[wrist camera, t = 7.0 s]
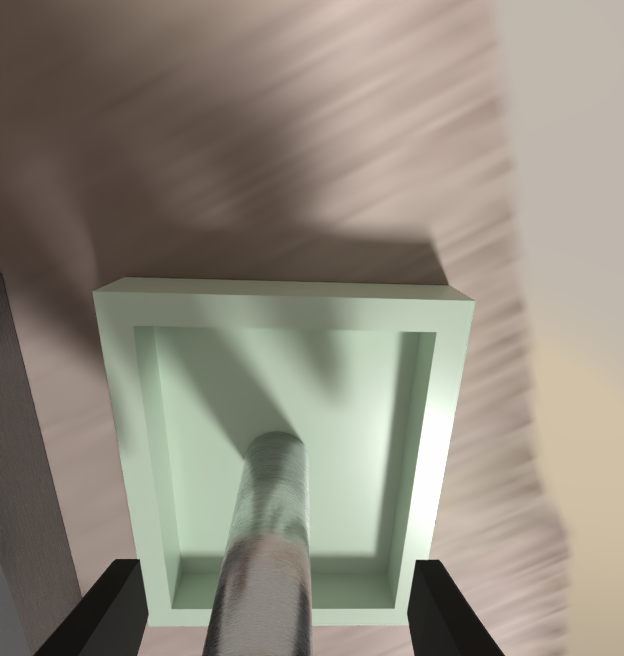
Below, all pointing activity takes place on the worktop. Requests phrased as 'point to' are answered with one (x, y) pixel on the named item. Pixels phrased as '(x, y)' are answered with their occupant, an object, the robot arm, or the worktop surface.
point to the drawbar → (27, 515)
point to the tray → (283, 426)
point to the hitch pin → (266, 557)
